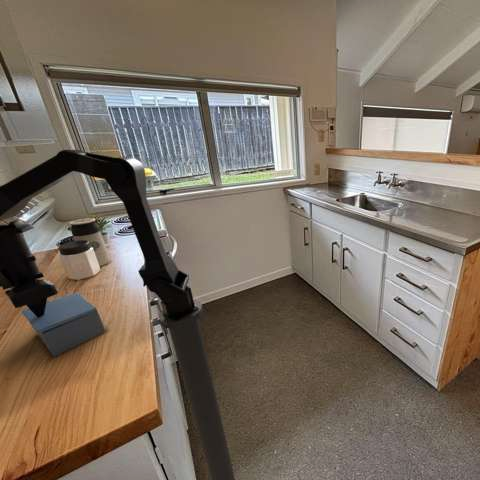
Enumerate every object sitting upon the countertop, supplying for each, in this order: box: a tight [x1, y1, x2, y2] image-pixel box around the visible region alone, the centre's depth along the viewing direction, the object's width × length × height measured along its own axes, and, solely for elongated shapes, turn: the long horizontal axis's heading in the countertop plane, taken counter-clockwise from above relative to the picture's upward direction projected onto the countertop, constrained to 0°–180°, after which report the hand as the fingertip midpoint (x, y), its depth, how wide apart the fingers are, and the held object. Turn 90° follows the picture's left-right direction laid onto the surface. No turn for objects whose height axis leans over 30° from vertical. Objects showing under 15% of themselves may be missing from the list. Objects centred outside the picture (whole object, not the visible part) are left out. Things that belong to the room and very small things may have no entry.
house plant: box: [89, 213, 116, 249], centre depth 115 cm, size 14×14×16 cm
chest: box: [37, 310, 106, 357], centre depth 63 cm, size 10×14×6 cm
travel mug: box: [68, 217, 111, 267], centre depth 99 cm, size 8×8×18 cm
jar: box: [57, 240, 102, 281], centre depth 92 cm, size 9×8×12 cm
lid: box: [21, 291, 98, 335], centre depth 62 cm, size 10×14×1 cm
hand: (40, 315), depth 59 cm, fingers closed, pressing on lid
